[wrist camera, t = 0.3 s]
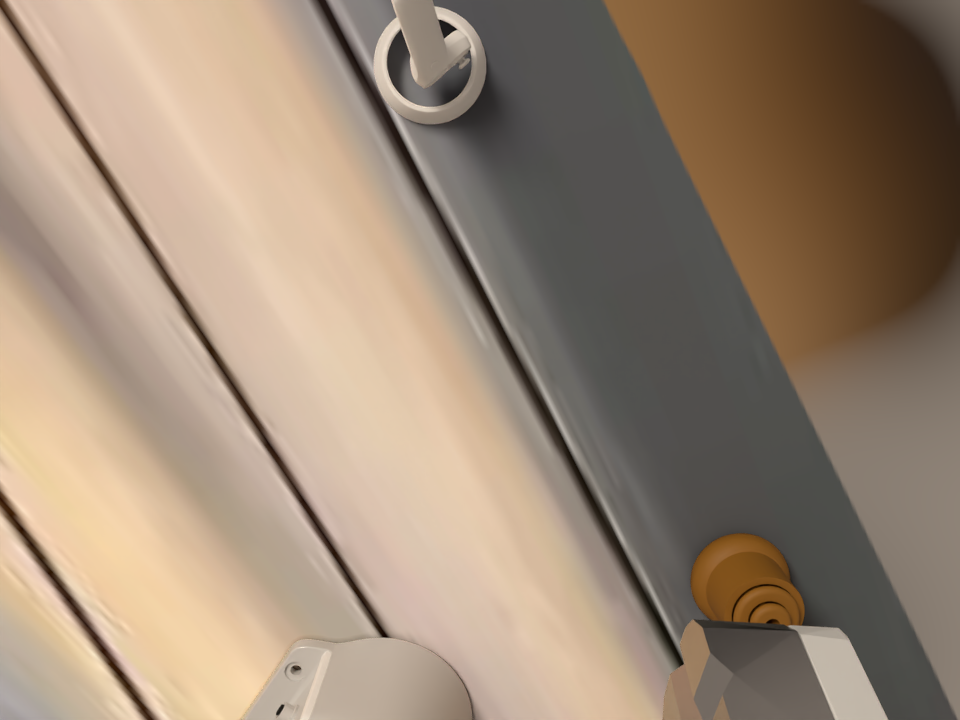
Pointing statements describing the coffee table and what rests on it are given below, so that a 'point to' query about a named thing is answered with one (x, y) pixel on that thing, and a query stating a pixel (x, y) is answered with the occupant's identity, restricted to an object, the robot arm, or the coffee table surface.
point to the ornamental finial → (745, 582)
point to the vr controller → (430, 58)
